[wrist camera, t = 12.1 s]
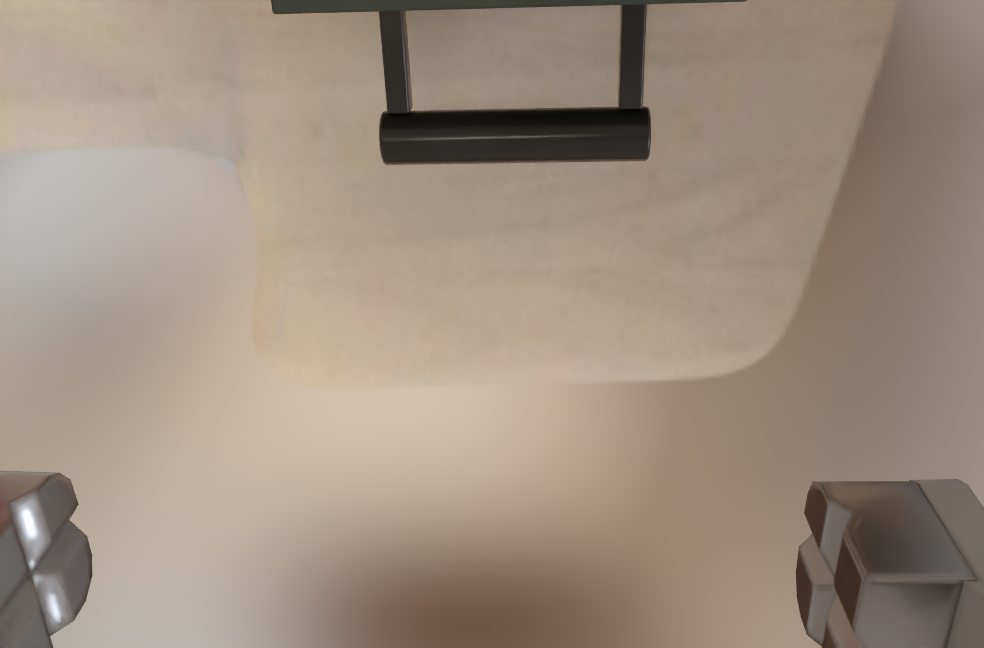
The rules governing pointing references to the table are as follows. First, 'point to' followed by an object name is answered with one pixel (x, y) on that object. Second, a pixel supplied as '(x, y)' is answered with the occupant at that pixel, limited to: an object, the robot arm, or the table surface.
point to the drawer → (504, 129)
